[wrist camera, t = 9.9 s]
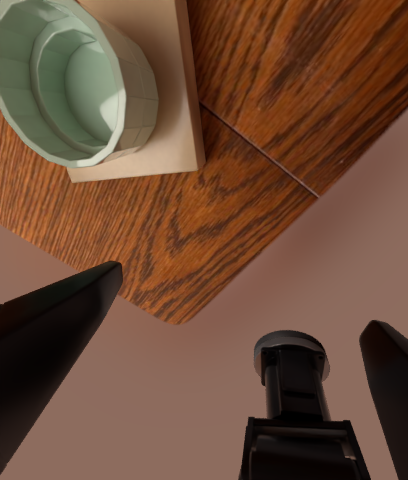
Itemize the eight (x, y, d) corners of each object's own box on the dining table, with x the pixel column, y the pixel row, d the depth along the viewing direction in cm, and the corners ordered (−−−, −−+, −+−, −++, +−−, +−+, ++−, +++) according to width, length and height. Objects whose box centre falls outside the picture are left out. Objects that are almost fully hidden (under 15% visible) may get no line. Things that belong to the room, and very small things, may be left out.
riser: (206, 162, 18) (198, 170, 15) (95, 174, 20) (71, 183, 18) (184, -14, 14) (168, -45, 11) (45, 26, 16) (4, 9, 13)
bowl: (171, 149, 15) (142, 160, 11) (82, 160, 17) (29, 173, 13) (145, 10, 12) (94, -40, 8) (39, 39, 14) (-47, 9, 10)
